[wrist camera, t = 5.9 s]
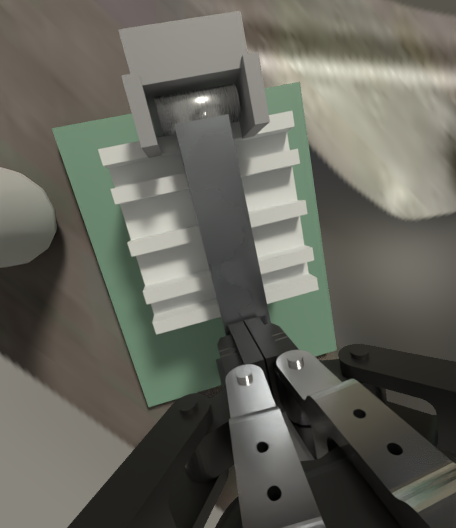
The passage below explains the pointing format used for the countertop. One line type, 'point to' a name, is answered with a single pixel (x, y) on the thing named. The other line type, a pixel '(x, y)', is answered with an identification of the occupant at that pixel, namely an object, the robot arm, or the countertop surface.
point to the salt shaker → (23, 219)
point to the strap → (218, 196)
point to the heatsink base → (126, 282)
